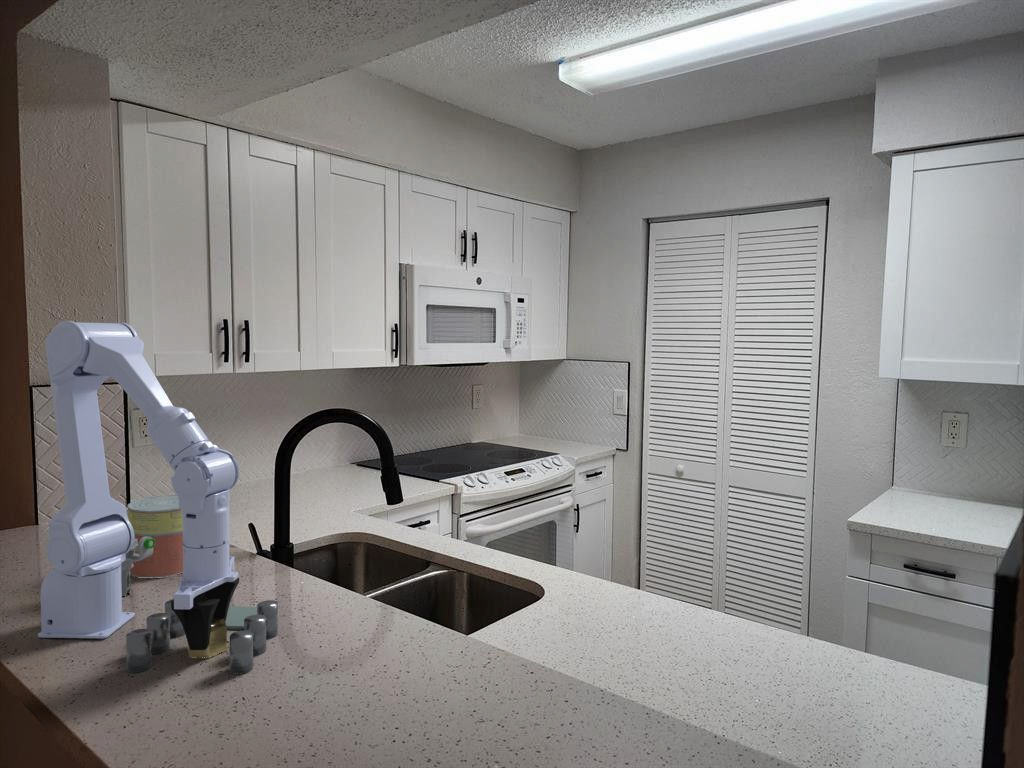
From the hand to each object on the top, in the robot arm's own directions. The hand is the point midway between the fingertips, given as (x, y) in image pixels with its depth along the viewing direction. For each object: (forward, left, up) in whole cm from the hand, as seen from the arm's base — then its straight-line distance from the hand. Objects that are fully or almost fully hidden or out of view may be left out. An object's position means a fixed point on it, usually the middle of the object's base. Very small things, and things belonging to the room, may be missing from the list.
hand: (207, 640), depth 92 cm
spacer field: (0, 0, -1) cm, 1 cm away
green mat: (0, +10, -1) cm, 10 cm away
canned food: (-21, +32, -2) cm, 38 cm away
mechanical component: (-21, +19, -2) cm, 28 cm away
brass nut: (0, 0, -1) cm, 1 cm away
